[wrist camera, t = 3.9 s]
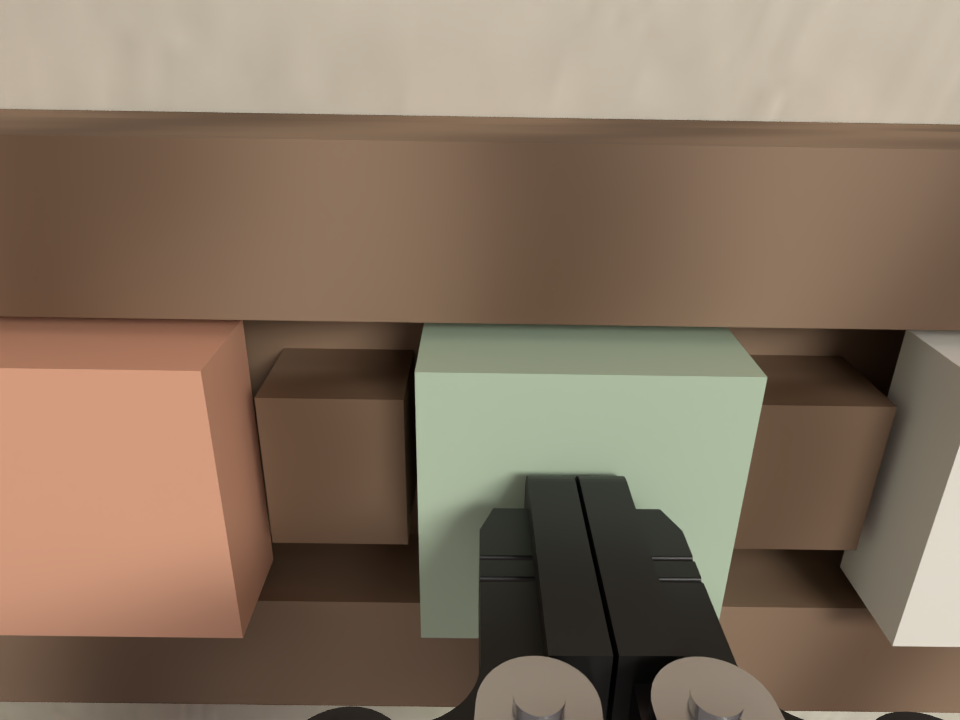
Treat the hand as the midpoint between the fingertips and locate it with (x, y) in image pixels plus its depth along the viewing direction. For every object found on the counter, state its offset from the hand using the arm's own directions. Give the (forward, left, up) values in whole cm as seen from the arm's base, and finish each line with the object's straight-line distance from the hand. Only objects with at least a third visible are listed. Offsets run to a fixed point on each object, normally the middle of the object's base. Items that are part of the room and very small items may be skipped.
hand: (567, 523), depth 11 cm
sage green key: (0, 0, -2) cm, 2 cm away
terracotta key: (+8, 0, -2) cm, 8 cm away
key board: (0, 0, -4) cm, 4 cm away
